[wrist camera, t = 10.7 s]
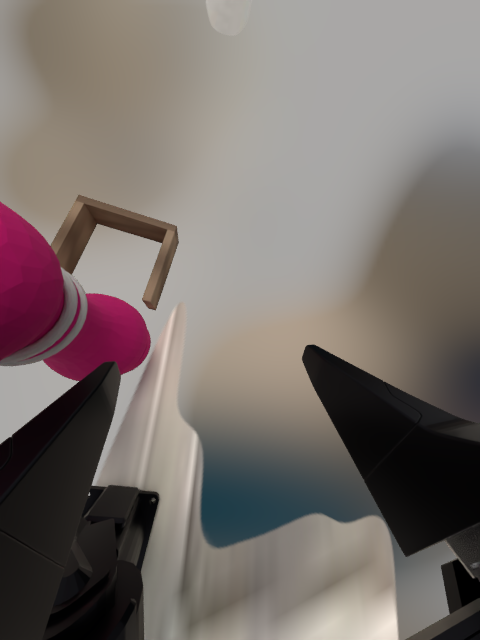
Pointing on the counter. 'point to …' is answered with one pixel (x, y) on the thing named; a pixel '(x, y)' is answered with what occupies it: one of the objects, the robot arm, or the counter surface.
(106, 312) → the pepper mill
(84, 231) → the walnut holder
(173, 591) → the counter surface
